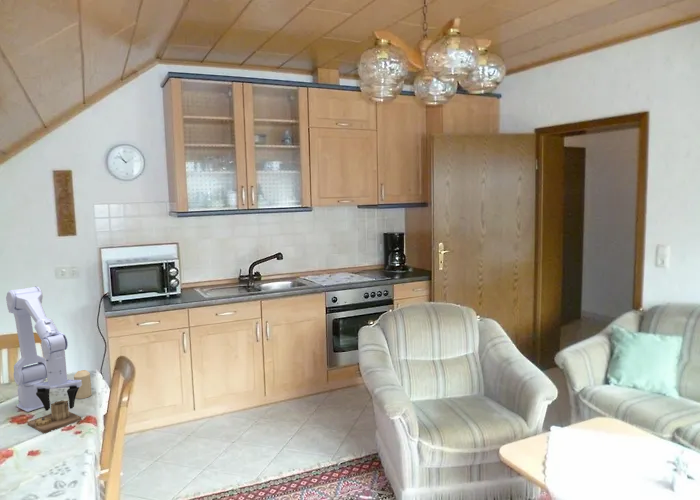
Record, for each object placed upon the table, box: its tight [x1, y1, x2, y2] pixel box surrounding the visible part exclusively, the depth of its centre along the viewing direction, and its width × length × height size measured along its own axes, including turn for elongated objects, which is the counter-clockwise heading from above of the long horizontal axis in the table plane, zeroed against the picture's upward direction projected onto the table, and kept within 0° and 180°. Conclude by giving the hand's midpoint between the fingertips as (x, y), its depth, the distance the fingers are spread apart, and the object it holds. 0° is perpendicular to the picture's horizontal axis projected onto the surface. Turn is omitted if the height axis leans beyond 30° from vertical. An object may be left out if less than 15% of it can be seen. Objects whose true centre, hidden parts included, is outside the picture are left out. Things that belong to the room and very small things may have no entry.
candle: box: [73, 369, 92, 400], centre depth 193 cm, size 6×6×10 cm
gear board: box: [26, 411, 83, 434], centre depth 171 cm, size 12×12×5 cm
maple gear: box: [50, 399, 70, 421], centre depth 172 cm, size 5×5×5 cm
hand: (59, 408), depth 172 cm, fingers open, 7 cm apart
